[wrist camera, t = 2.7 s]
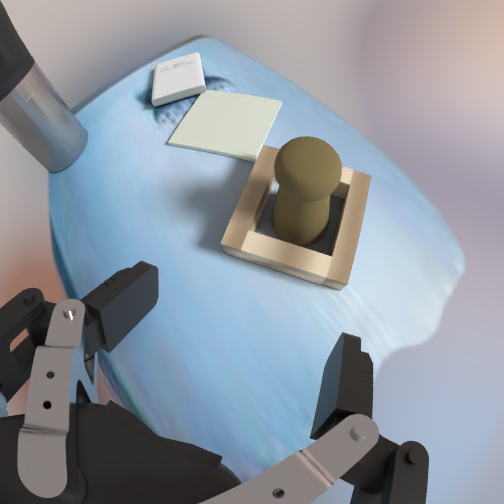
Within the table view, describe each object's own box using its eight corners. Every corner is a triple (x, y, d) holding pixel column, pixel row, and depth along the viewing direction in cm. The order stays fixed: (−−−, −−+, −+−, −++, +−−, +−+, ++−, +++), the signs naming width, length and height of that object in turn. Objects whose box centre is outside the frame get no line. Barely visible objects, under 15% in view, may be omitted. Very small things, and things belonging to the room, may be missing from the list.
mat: (169, 144, 34) (167, 142, 34) (204, 92, 37) (203, 89, 37) (255, 162, 32) (254, 159, 32) (281, 104, 35) (281, 101, 35)
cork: (262, 234, 29) (254, 174, 19) (282, 187, 31) (283, 116, 20) (318, 254, 28) (340, 202, 18) (334, 204, 30) (358, 139, 19)
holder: (226, 253, 29) (220, 243, 26) (264, 161, 32) (263, 145, 29) (340, 290, 27) (347, 284, 24) (364, 189, 30) (371, 175, 27)
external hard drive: (154, 107, 37) (157, 70, 41) (206, 92, 36) (200, 58, 41) (150, 100, 35) (154, 64, 40) (204, 84, 35) (198, 51, 40)
